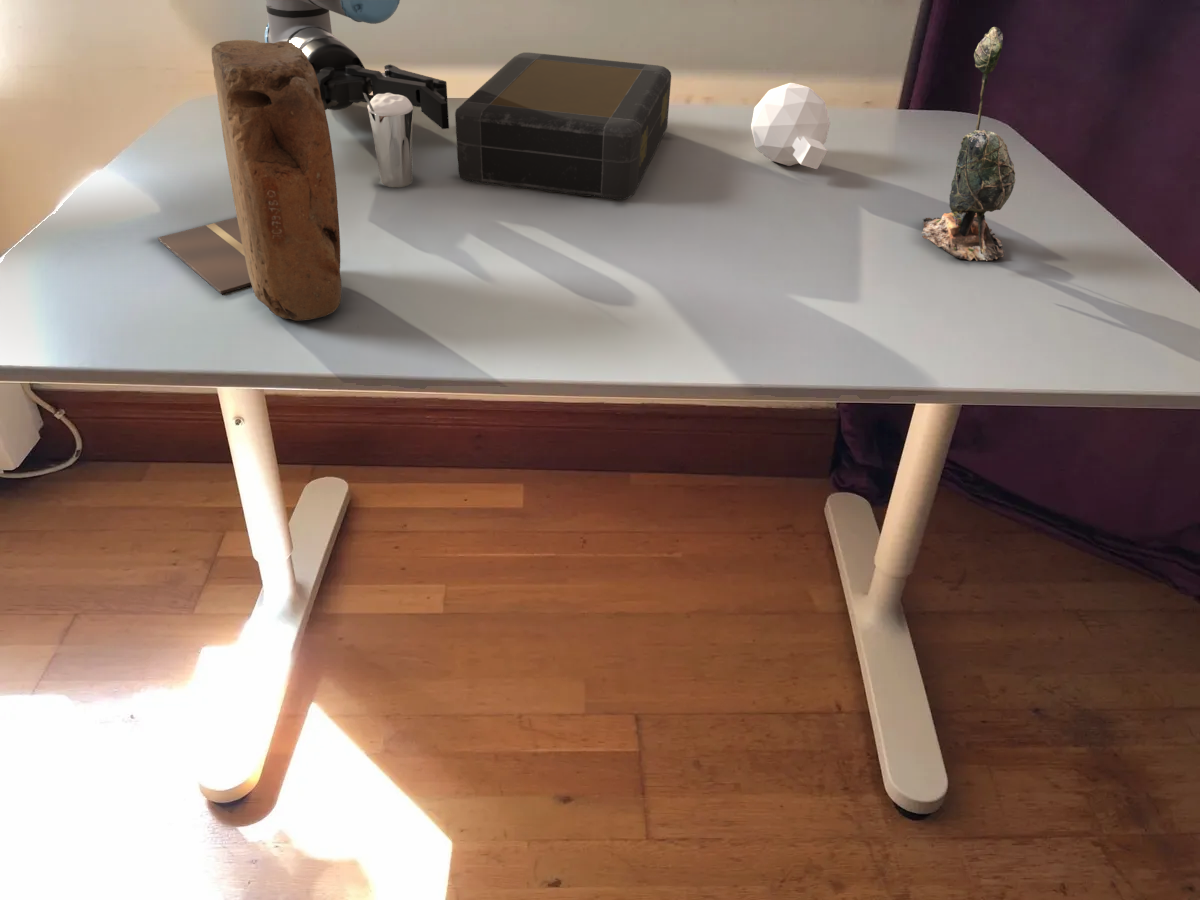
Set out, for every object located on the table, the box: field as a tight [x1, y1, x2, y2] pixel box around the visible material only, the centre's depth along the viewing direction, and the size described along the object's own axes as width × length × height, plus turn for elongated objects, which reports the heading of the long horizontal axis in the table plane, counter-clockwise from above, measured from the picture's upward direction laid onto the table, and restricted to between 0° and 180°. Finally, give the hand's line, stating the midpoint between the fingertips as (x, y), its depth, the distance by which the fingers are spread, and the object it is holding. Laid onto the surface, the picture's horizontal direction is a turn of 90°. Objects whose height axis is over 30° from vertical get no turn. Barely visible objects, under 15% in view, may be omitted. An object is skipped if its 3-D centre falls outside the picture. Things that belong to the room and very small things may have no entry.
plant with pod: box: [921, 26, 1016, 262], centre depth 89 cm, size 8×11×20 cm
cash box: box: [454, 52, 672, 200], centre depth 109 cm, size 25×20×8 cm
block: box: [211, 39, 342, 322], centre depth 75 cm, size 11×8×20 cm
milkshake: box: [363, 93, 414, 189], centre depth 99 cm, size 4×5×10 cm
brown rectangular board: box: [157, 216, 252, 295], centre depth 88 cm, size 14×10×1 cm
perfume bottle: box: [750, 82, 831, 170], centre depth 109 cm, size 9×9×12 cm
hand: (384, 124), depth 100 cm, fingers open, 13 cm apart
